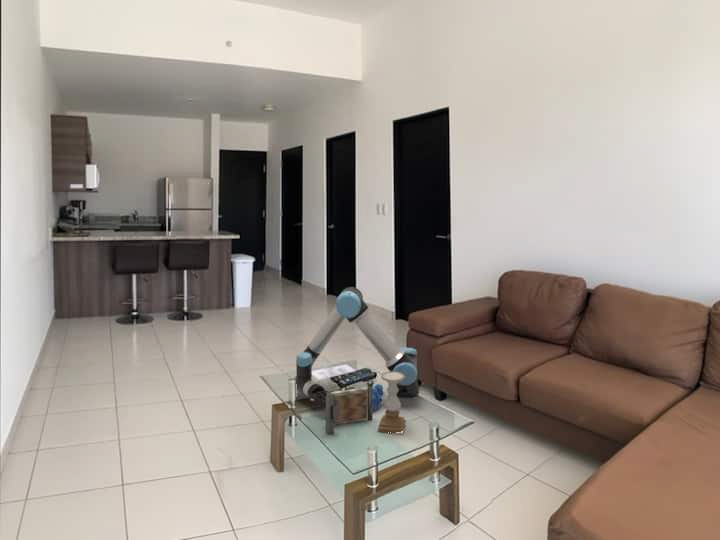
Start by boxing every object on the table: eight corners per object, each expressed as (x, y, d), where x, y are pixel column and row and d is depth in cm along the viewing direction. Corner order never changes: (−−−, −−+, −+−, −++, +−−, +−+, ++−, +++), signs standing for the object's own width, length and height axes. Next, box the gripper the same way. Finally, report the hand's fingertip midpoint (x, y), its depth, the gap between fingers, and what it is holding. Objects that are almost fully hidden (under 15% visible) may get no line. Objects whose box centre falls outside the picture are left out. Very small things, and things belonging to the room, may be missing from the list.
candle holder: (403, 434, 223) (404, 381, 219) (377, 432, 225) (378, 379, 221) (406, 423, 234) (407, 372, 230) (381, 421, 236) (382, 370, 232)
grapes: (374, 402, 256) (374, 379, 254) (386, 405, 252) (386, 381, 250) (362, 411, 246) (362, 387, 244) (375, 414, 242) (375, 390, 240)
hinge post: (370, 417, 239) (370, 379, 237) (374, 419, 237) (375, 381, 234) (364, 419, 238) (365, 381, 235) (369, 421, 235) (369, 383, 232)
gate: (365, 417, 238) (365, 387, 235) (367, 419, 236) (367, 389, 233) (326, 423, 231) (326, 392, 229) (328, 425, 229) (328, 394, 227)
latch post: (334, 429, 227) (334, 392, 225) (339, 433, 224) (339, 395, 222) (326, 432, 225) (325, 394, 222) (330, 435, 222) (330, 397, 219)
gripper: (326, 395, 256) (353, 412, 237) (301, 401, 248) (328, 420, 230) (326, 380, 255) (354, 396, 236) (301, 386, 247) (328, 403, 228)
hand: (341, 408), depth 233 cm, fingers closed
